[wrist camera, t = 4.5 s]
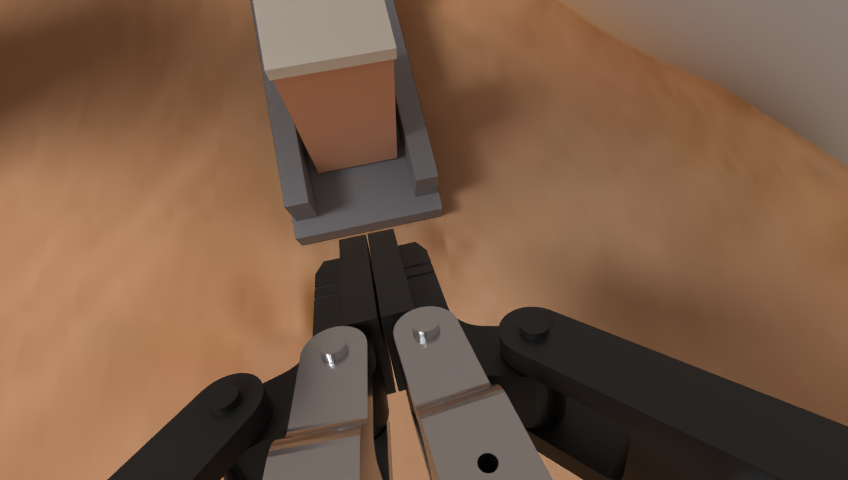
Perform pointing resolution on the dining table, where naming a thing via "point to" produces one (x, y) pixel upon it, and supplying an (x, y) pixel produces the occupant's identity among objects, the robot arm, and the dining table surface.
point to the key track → (358, 167)
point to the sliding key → (333, 76)
